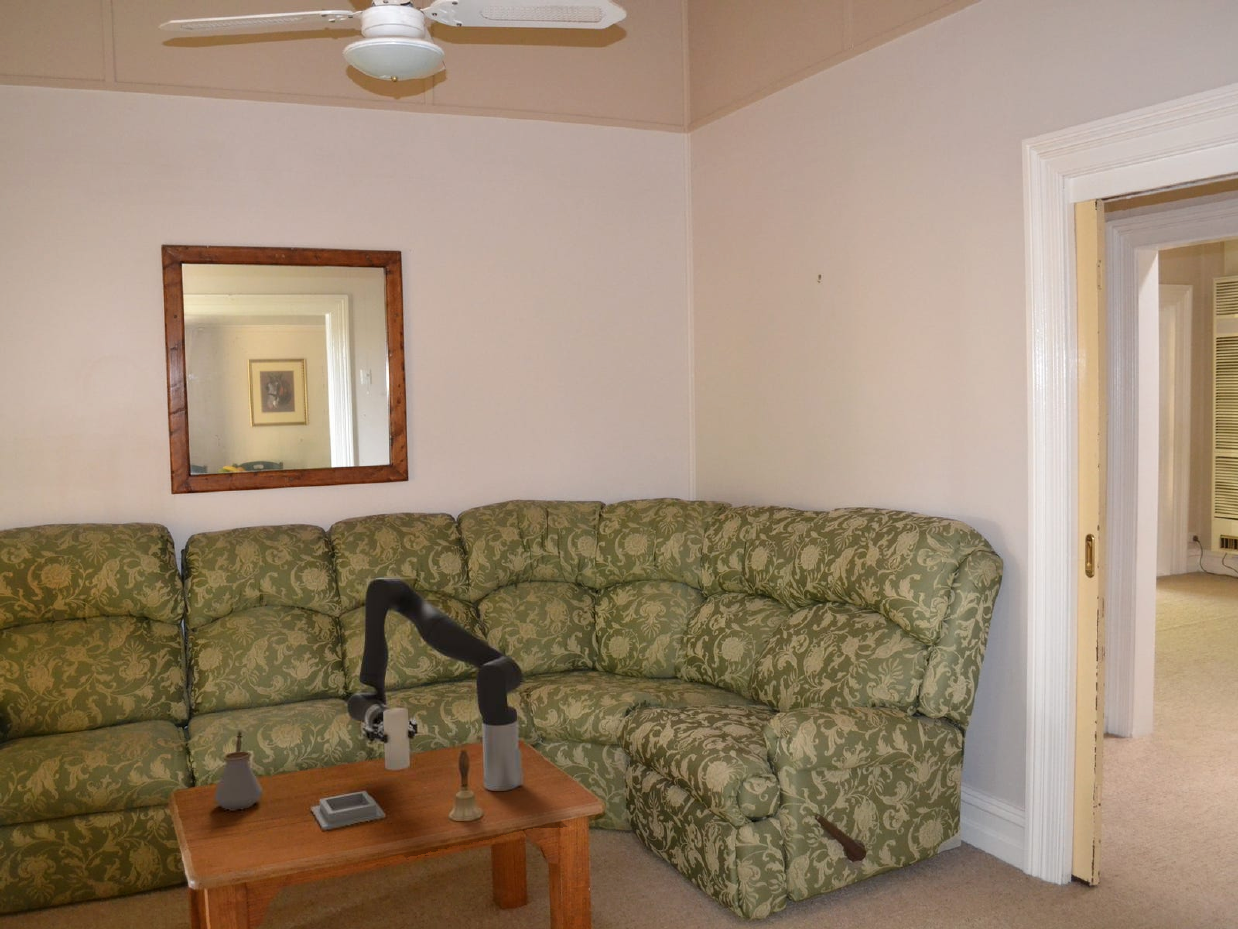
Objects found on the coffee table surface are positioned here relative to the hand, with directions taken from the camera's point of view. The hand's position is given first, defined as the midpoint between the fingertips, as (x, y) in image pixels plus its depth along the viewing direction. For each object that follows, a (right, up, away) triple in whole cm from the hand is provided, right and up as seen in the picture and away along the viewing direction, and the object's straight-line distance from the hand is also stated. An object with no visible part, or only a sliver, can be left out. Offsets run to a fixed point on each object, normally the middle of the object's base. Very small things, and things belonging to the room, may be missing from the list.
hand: (399, 737), depth 263 cm
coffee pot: (-43, -19, +10) cm, 48 cm away
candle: (-1, -8, +3) cm, 8 cm away
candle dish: (-12, -18, -3) cm, 22 cm away
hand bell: (+18, -18, -6) cm, 26 cm away
